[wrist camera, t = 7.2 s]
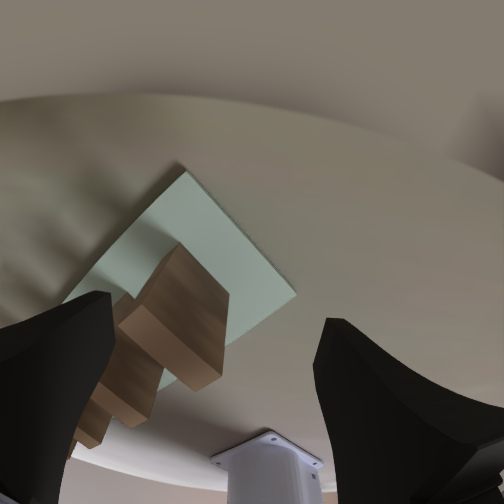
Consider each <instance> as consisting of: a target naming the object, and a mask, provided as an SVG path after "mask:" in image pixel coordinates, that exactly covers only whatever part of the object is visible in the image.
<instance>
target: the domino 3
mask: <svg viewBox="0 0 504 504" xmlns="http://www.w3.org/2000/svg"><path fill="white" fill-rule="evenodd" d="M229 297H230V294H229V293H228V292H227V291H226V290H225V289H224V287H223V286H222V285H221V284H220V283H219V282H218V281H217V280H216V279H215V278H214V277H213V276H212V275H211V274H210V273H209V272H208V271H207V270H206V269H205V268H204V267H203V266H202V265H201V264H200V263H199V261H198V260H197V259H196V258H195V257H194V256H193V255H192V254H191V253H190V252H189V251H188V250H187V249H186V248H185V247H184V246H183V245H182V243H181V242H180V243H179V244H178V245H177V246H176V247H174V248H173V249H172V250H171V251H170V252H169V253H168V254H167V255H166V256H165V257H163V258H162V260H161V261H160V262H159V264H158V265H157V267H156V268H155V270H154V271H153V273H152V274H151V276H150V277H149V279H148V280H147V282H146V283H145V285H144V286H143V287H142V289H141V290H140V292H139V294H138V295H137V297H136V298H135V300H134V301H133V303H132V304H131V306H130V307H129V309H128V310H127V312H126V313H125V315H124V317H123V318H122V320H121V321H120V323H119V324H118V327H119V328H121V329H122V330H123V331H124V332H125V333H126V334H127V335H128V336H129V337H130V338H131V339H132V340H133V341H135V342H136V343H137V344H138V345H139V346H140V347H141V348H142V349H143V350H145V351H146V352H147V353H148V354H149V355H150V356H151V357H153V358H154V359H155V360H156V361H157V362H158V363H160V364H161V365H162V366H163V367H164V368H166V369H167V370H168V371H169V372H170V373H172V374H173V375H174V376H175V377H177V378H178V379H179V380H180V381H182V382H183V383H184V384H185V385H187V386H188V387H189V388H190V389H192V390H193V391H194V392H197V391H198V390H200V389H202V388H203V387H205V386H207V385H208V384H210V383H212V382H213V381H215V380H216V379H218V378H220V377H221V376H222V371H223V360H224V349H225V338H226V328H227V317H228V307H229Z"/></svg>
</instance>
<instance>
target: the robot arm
mask: <svg viewBox="0 0 504 504" xmlns="http://www.w3.org/2000/svg"><path fill="white" fill-rule="evenodd" d="M115 343H116V339H115V330H114V321H113V311H112V299H111V293H110V292H104V291H98V290H94V291H91V292H88V293H85V294H83V295H81V296H79V297H76V298H74V299H72V300H70V301H68V302H66V303H63V304H61V305H59V306H57V307H55V308H53V309H51V310H48V311H46V312H44V313H41V314H39V315H37V316H34V317H32V318H30V319H27V320H25V321H22V322H19V323H17V324H14V325H11V326H7V327H4V328H1V329H0V504H58V500H59V493H60V487H61V482H62V477H63V472H64V467H65V463H66V460H67V456H68V452H69V449H70V445H71V442H72V439H73V436H74V433H75V430H76V427H77V424H78V422H79V419H80V417H81V415H82V412H83V410H84V408H85V407H86V405H87V403H88V401H89V399H90V397H91V395H92V393H93V391H94V389H95V388H96V386H97V384H98V382H99V380H100V378H101V376H102V375H103V373H104V371H105V369H106V367H107V365H108V362H109V360H110V357H111V355H112V352H113V349H114V346H115ZM313 372H314V380H315V387H316V392H317V396H318V399H319V403H320V406H321V410H322V414H323V417H324V421H325V424H326V428H327V431H328V435H329V438H330V442H331V447H332V451H333V458H334V465H335V473H336V483H337V493H338V504H504V491H503V492H502V493H501V492H500V490H499V488H498V486H500V485H501V484H502V482H503V479H502V477H501V476H500V474H499V473H500V472H501V471H502V470H503V469H504V408H502V407H497V406H493V405H489V404H485V403H482V402H479V401H476V400H473V399H470V398H467V397H465V396H462V395H460V394H457V393H455V392H453V391H450V390H448V389H446V388H444V387H442V386H440V385H438V384H436V383H434V382H432V381H430V380H428V379H427V378H425V377H423V376H421V375H420V374H418V373H416V372H415V371H413V370H411V369H410V368H408V367H407V366H405V365H404V364H403V363H401V362H400V361H398V360H397V359H395V358H394V357H393V356H391V355H390V354H389V353H387V352H386V351H385V350H383V349H382V348H381V347H379V346H378V345H377V344H376V343H374V342H373V341H372V340H371V339H369V338H368V337H367V336H366V335H365V334H363V333H362V332H361V331H360V330H358V329H357V328H356V327H354V326H353V325H352V324H351V323H349V322H348V321H346V320H345V319H340V318H326V321H325V325H324V328H323V332H322V335H321V339H320V342H319V346H318V349H317V352H316V356H315V359H314V362H313ZM210 462H211V463H213V464H215V465H217V466H219V467H220V468H222V469H224V470H226V471H228V495H227V504H324V502H323V496H322V491H321V486H320V480H319V475H318V469H320V468H322V467H324V462H322V461H320V460H319V459H317V458H315V457H314V456H312V455H310V454H309V453H307V452H305V451H304V450H302V449H300V448H299V447H297V446H295V445H294V444H292V443H291V442H289V441H287V440H286V439H284V438H283V437H281V436H280V435H278V434H276V433H275V432H273V431H269V432H266V433H264V434H262V435H260V436H258V437H256V438H254V439H252V440H250V441H247V442H245V443H243V444H241V445H239V446H237V447H234V448H232V449H230V450H227V451H225V452H223V453H220V454H218V455H216V456H213V457H211V458H210Z"/></svg>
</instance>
